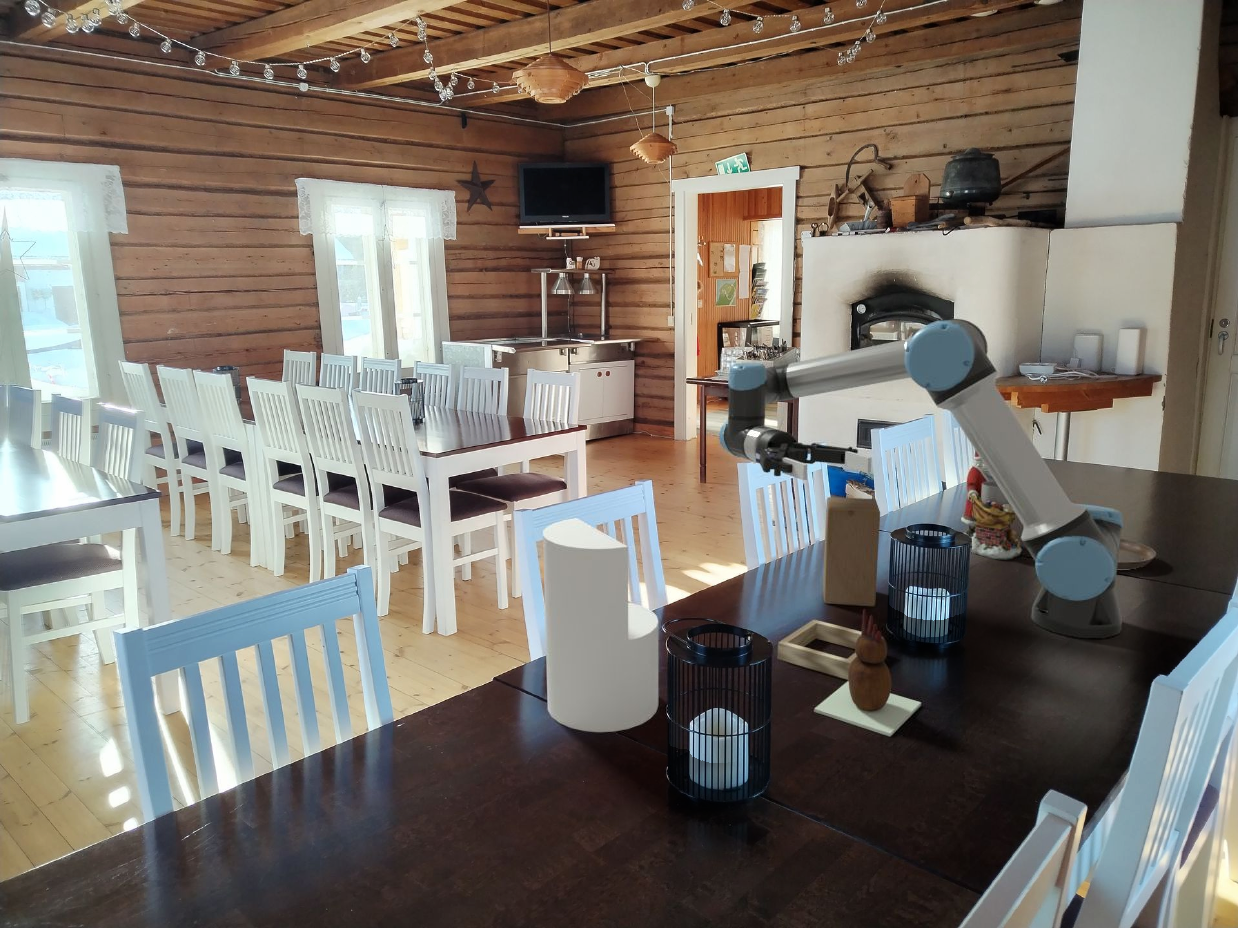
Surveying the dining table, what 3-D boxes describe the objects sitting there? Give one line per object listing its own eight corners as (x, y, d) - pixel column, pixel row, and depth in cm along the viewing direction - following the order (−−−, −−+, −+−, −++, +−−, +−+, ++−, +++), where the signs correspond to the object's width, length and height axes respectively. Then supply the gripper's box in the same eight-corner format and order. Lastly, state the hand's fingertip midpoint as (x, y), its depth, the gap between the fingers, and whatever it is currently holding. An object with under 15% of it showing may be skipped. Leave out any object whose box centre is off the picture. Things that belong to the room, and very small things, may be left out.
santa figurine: (1025, 562, 202) (1033, 456, 197) (959, 557, 206) (966, 453, 202) (1017, 543, 218) (1025, 444, 213) (957, 538, 222) (963, 441, 217)
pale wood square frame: (882, 653, 154) (883, 637, 154) (849, 680, 144) (850, 663, 143) (812, 634, 162) (813, 619, 162) (777, 658, 152) (777, 642, 152)
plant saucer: (1056, 569, 198) (1058, 555, 198) (1050, 543, 217) (1051, 530, 216) (1162, 579, 191) (1163, 565, 190) (1145, 552, 210) (1147, 539, 209)
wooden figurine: (842, 695, 138) (846, 605, 134) (877, 694, 138) (883, 604, 135) (857, 716, 131) (862, 622, 128) (894, 715, 131) (900, 621, 128)
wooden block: (875, 607, 176) (880, 510, 171) (823, 604, 178) (828, 508, 173) (871, 590, 185) (876, 498, 181) (822, 587, 187) (826, 496, 183)
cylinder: (575, 742, 125) (571, 555, 120) (530, 693, 140) (525, 525, 135) (679, 714, 133) (680, 537, 127) (625, 670, 148) (624, 510, 142)
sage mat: (920, 705, 135) (921, 702, 135) (890, 736, 126) (890, 733, 126) (848, 683, 143) (848, 680, 143) (814, 711, 134) (814, 708, 134)
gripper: (823, 461, 178) (893, 482, 159) (715, 472, 169) (776, 496, 149) (825, 424, 177) (896, 442, 157) (716, 433, 167) (777, 453, 148)
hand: (838, 468), depth 153 cm, fingers open, 13 cm apart
